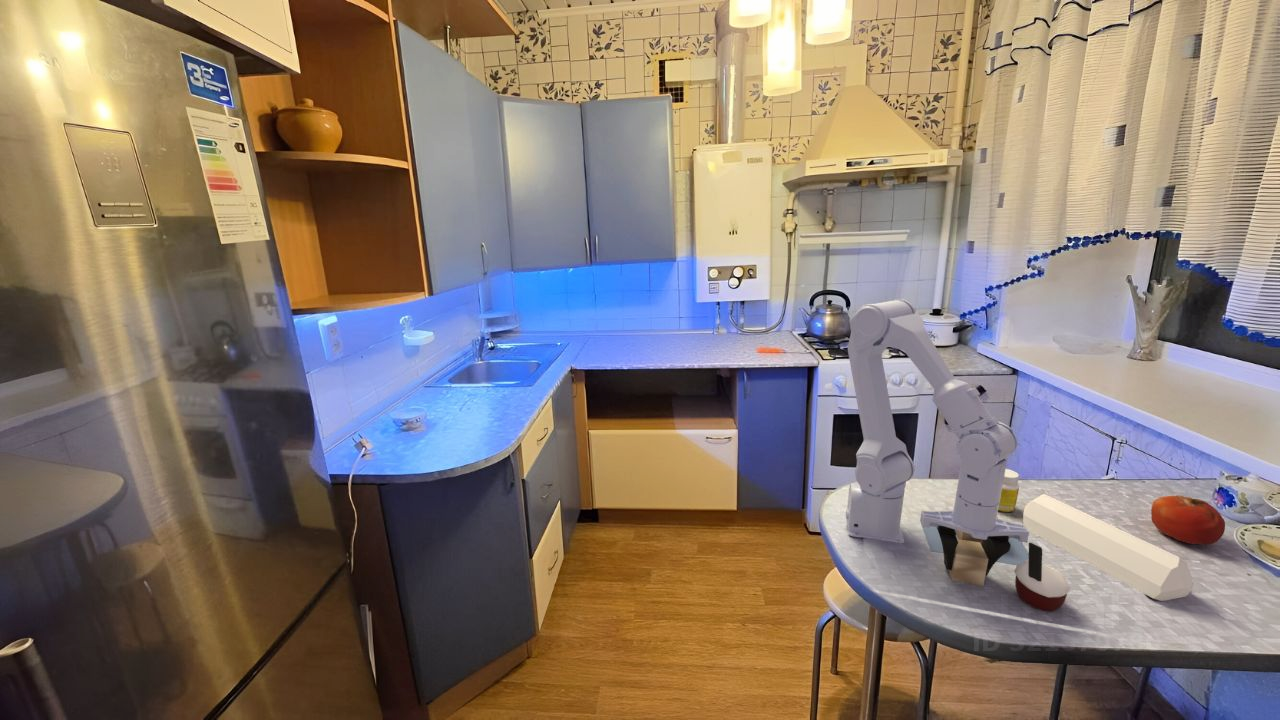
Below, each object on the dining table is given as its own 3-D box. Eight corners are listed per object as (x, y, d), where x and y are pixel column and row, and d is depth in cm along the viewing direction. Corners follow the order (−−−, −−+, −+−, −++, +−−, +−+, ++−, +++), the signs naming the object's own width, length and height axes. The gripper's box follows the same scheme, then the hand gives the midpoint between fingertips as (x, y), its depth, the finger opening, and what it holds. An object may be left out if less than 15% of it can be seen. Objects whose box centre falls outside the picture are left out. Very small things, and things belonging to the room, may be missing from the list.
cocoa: (1043, 588, 80) (1058, 521, 77) (1081, 616, 74) (1099, 545, 71) (990, 592, 79) (1003, 524, 76) (1023, 621, 73) (1039, 549, 70)
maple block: (951, 582, 81) (956, 554, 80) (945, 565, 85) (949, 537, 84) (982, 588, 80) (988, 559, 78) (975, 570, 84) (980, 542, 82)
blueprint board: (930, 553, 88) (930, 550, 88) (919, 521, 98) (919, 519, 97) (1037, 570, 83) (1038, 568, 83) (1015, 535, 92) (1016, 533, 92)
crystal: (1216, 575, 76) (1048, 497, 98) (1197, 565, 73) (1029, 486, 95) (1189, 616, 77) (1029, 529, 99) (1170, 607, 74) (1009, 520, 96)
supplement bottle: (1018, 517, 98) (1026, 479, 96) (992, 515, 99) (999, 477, 97) (1006, 504, 102) (1013, 467, 100) (981, 502, 103) (987, 466, 101)
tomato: (1140, 516, 97) (1150, 480, 95) (1208, 531, 92) (1220, 493, 90) (1152, 542, 90) (1163, 503, 87) (1227, 559, 85) (1241, 519, 82)
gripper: (931, 503, 77) (920, 576, 81) (1043, 518, 73) (1026, 595, 76) (922, 481, 84) (912, 549, 87) (1024, 493, 79) (1009, 565, 83)
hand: (964, 569), depth 82 cm, fingers closed on maple block, 4 cm apart
